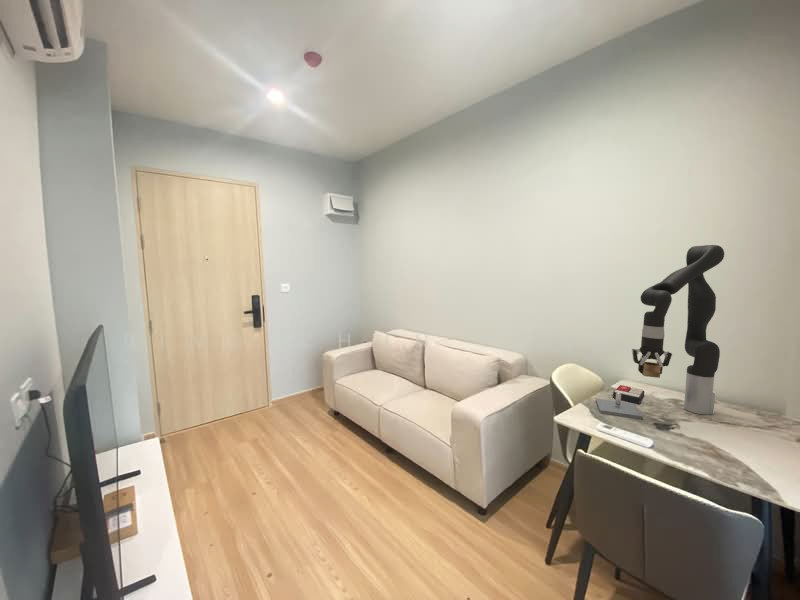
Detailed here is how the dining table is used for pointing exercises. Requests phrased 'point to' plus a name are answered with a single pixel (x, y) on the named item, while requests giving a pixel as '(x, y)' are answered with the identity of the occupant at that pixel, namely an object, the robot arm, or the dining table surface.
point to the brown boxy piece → (651, 369)
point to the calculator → (629, 394)
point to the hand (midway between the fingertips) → (649, 373)
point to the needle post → (618, 399)
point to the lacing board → (618, 409)
